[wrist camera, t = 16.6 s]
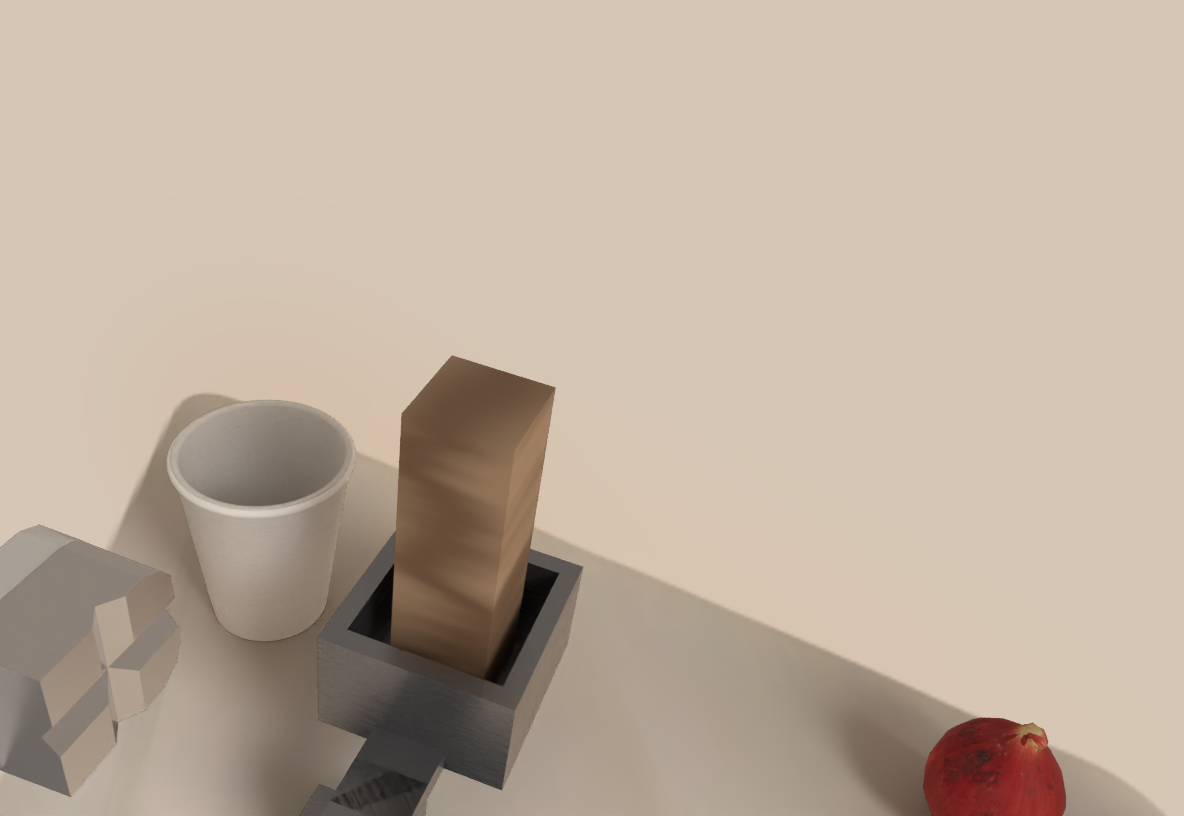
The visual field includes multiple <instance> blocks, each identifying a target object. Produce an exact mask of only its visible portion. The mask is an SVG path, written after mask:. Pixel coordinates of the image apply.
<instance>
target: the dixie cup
mask: <svg viewBox="0 0 1184 816" xmlns="http://www.w3.org/2000/svg"><path fill="white" fill-rule="evenodd" d="M355 462H356V449H355V444H354V442H353V439H352V437H351V435H350V434H349V432H348V431H347V430H346V428H344V426H343V425H342V424H340V423H339V422H338V421H337V420H336V419H334V418H333V417H331V416H330V415H328V414H326V413H324V412H322V411H320V410H318V409H315V408H312V407H310V406H307V405H303V404H300V403H294V402H289V401H281V400H255V401H246V402H240V403H235V404H231V405H227V406H224V407H221V408H218V409H215V410H213V411H211V412H209V413H206V414H204V415H203V416H201V417H199V418H197V419H196V420H194V421H193V422H191V423H190V424H189V425H187V426H186V427H185V428H184V429H183V430H182V431H181V432H180V433H179V434H178V435H177V436H176V438H175V439H174V441H173V442H172V444H171V446H170V448H169V451H168V454H167V461H166V465H167V472H168V476H169V478H170V480H171V482H172V484H173V485H174V487H175V488H176V490H177V491H178V492H179V496H180V499H181V502H182V506H183V509H184V512H185V516H186V519H187V522H188V526H189V529H190V532H191V536H192V539H193V542H194V546H195V549H196V552H197V556H198V559H199V562H200V566H201V569H202V572H203V576H204V579H205V582H206V583H205V584H206V588H207V591H208V594H209V598H210V600H211V602H212V606H213V609H214V612H215V615H216V618H217V620H218V621H219V623H220V624H221V625H222V626H223V627H224V628H225V629H226V630H227V631H229V632H230V633H232V634H234V635H236V636H238V637H241V638H244V639H248V640H253V641H276V640H281V639H285V638H289V637H292V636H294V635H297V634H299V633H301V632H303V631H304V630H306V629H307V628H309V627H310V626H311V625H313V624H314V623H315V622H316V621H317V620H318V618H319V617H320V616H321V614H322V613H323V611H324V609H325V606H326V603H327V597H328V591H329V586H330V580H331V574H332V568H333V563H334V557H335V551H336V545H337V539H338V534H339V528H340V522H341V516H342V511H343V505H344V499H345V493H346V488H347V482H348V479H349V477H350V476H351V474H352V472H353V469H354V466H355Z"/></svg>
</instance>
